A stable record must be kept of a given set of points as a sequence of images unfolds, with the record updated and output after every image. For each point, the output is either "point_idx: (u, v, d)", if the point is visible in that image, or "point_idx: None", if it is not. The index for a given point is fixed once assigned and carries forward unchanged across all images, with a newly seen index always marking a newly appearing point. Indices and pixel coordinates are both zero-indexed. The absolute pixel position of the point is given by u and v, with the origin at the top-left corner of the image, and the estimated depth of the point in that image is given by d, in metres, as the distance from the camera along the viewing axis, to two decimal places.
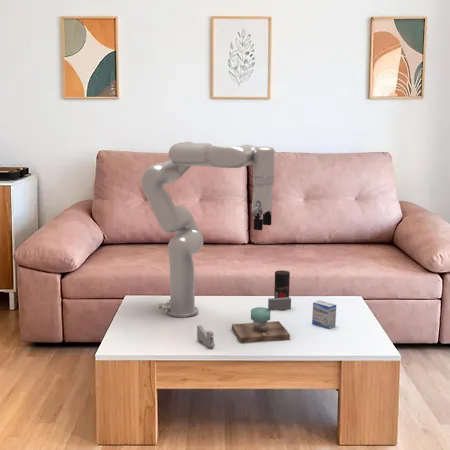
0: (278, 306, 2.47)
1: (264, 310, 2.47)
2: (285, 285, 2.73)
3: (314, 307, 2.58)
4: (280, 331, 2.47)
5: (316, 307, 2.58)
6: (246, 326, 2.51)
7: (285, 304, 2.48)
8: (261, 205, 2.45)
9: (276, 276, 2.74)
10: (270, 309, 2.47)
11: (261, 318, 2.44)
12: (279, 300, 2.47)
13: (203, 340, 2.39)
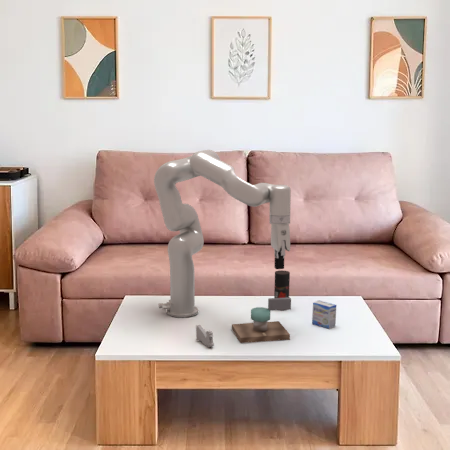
0: (278, 306, 2.47)
1: (264, 310, 2.47)
2: (285, 285, 2.73)
3: (314, 307, 2.58)
4: (280, 331, 2.47)
5: (316, 307, 2.58)
6: (246, 326, 2.51)
7: (285, 304, 2.48)
8: None
9: (276, 276, 2.74)
10: (270, 309, 2.47)
11: (261, 318, 2.44)
12: (279, 300, 2.47)
13: (202, 340, 2.39)
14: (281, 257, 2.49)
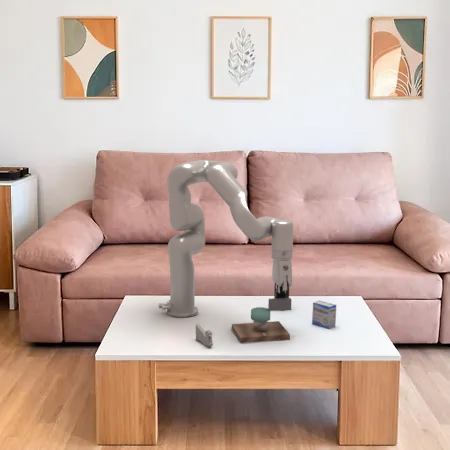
0: (278, 306, 2.47)
1: (264, 310, 2.47)
2: None
3: (314, 307, 2.58)
4: (280, 331, 2.47)
5: (316, 307, 2.58)
6: (246, 326, 2.51)
7: (286, 304, 2.47)
8: None
9: None
10: (270, 309, 2.47)
11: (261, 318, 2.44)
12: (279, 300, 2.47)
13: (202, 339, 2.40)
14: (283, 292, 2.48)
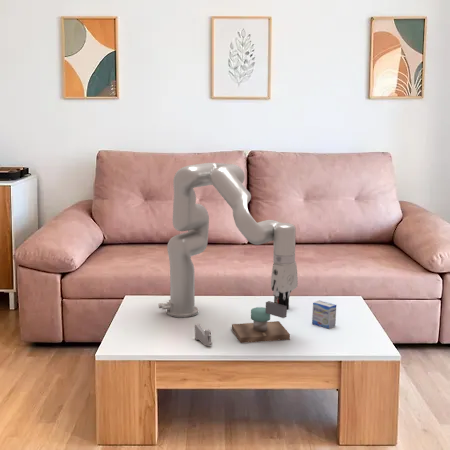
0: (273, 311, 2.42)
1: (263, 311, 2.46)
2: None
3: (314, 307, 2.58)
4: (280, 331, 2.47)
5: (316, 307, 2.58)
6: (246, 326, 2.51)
7: (279, 311, 2.40)
8: None
9: None
10: (266, 312, 2.44)
11: (253, 317, 2.45)
12: (273, 305, 2.41)
13: (201, 339, 2.40)
14: (280, 297, 2.41)
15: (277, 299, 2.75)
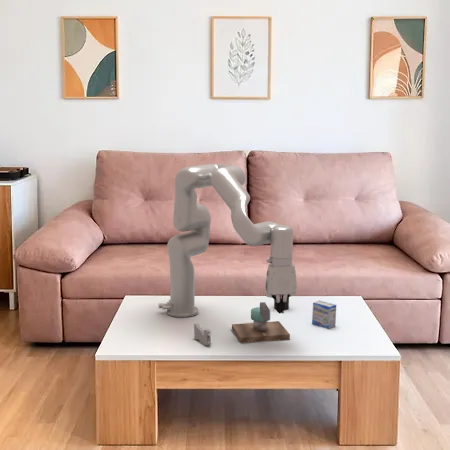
0: (261, 312, 2.41)
1: (260, 311, 2.46)
2: None
3: (314, 307, 2.58)
4: (280, 331, 2.47)
5: (316, 307, 2.58)
6: (246, 326, 2.51)
7: (263, 313, 2.38)
8: None
9: None
10: (259, 312, 2.44)
11: None
12: (261, 306, 2.40)
13: (200, 338, 2.41)
14: (274, 299, 2.39)
15: None
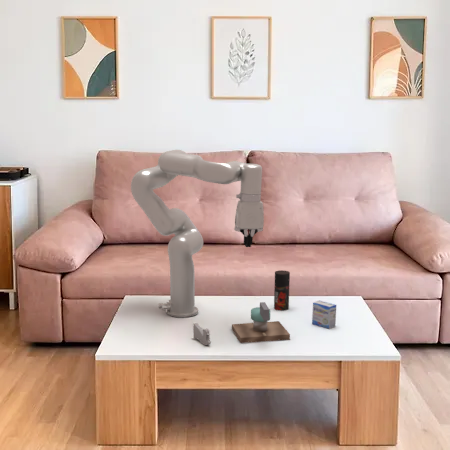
0: (261, 312, 2.41)
1: (260, 311, 2.46)
2: (285, 285, 2.73)
3: (314, 307, 2.58)
4: (280, 331, 2.47)
5: (316, 307, 2.58)
6: (246, 326, 2.51)
7: (263, 313, 2.38)
8: None
9: (276, 276, 2.74)
10: (259, 312, 2.44)
11: None
12: (261, 306, 2.40)
13: (199, 338, 2.41)
14: None
15: (277, 299, 2.75)
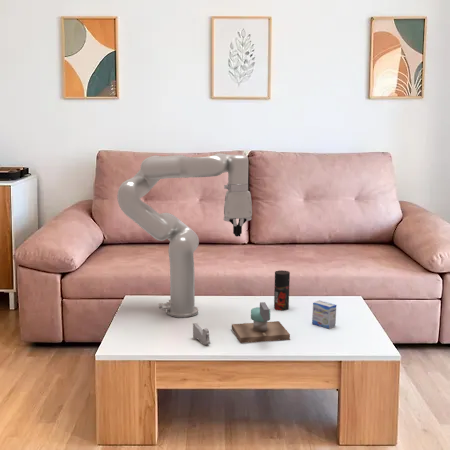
0: (261, 312, 2.41)
1: (260, 311, 2.46)
2: (285, 285, 2.73)
3: (314, 307, 2.58)
4: (280, 331, 2.47)
5: (316, 307, 2.58)
6: (246, 326, 2.51)
7: (263, 313, 2.38)
8: None
9: (276, 276, 2.74)
10: (259, 312, 2.44)
11: None
12: (261, 306, 2.40)
13: (199, 337, 2.41)
14: None
15: (277, 299, 2.75)
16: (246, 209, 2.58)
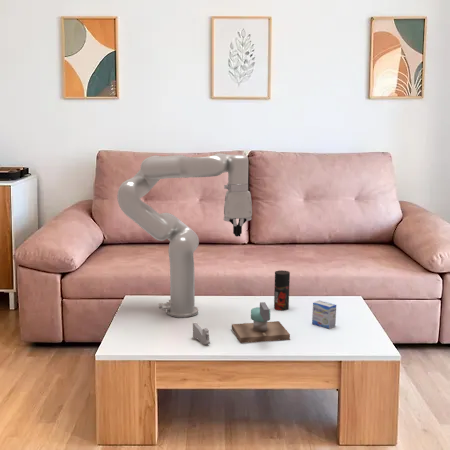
0: (261, 312, 2.41)
1: (260, 311, 2.46)
2: (285, 285, 2.73)
3: (314, 307, 2.58)
4: (280, 331, 2.47)
5: (316, 307, 2.58)
6: (246, 326, 2.51)
7: (263, 313, 2.38)
8: None
9: (276, 276, 2.74)
10: (259, 312, 2.44)
11: None
12: (261, 306, 2.40)
13: (199, 337, 2.41)
14: None
15: (277, 299, 2.75)
16: (246, 209, 2.58)
